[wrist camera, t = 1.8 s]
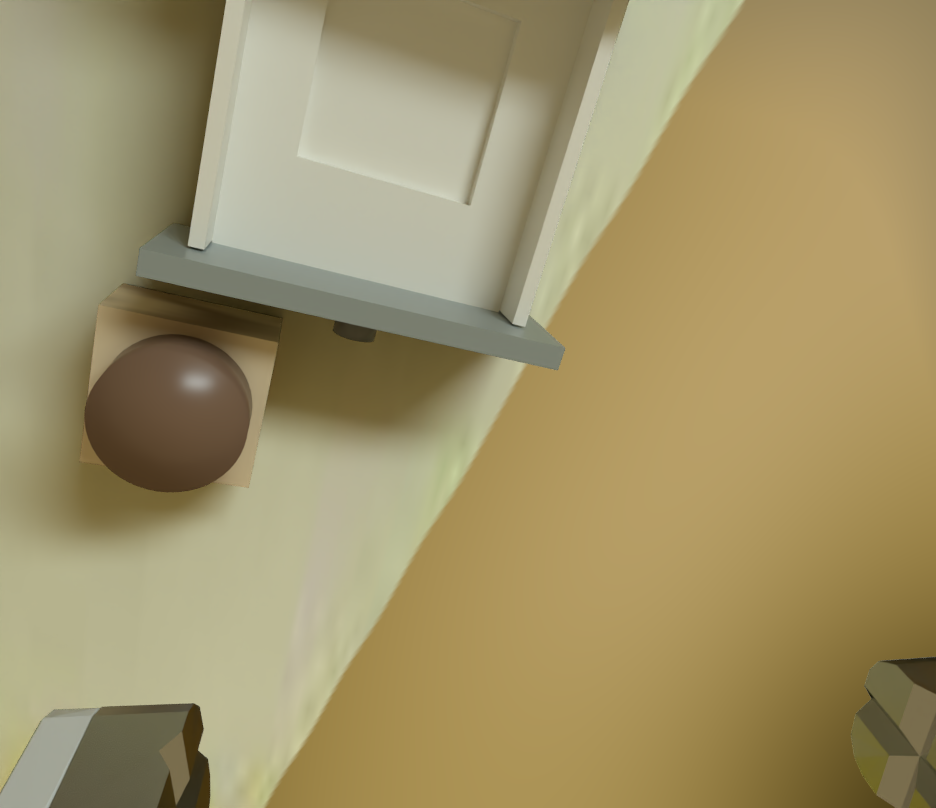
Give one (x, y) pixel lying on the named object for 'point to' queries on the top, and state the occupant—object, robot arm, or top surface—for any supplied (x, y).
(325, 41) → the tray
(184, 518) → the top surface
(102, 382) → the puck
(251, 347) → the block
